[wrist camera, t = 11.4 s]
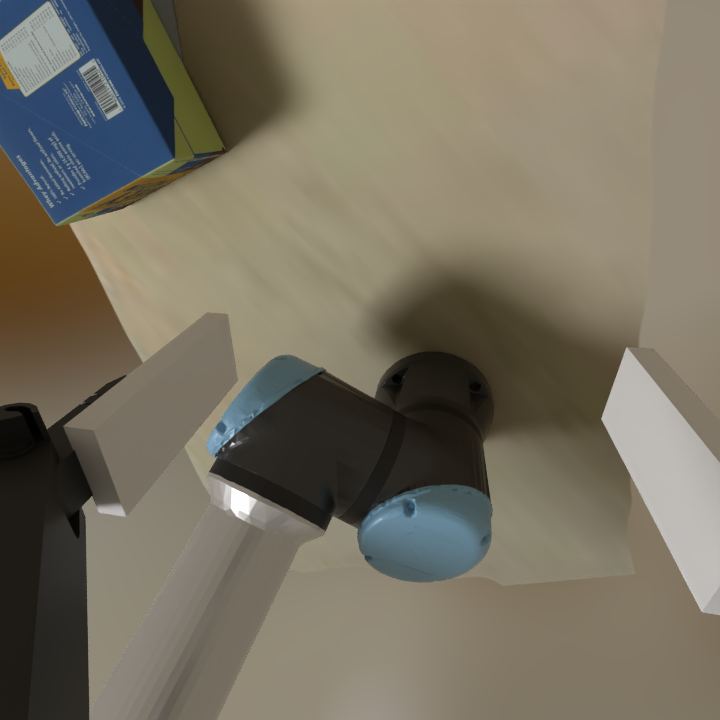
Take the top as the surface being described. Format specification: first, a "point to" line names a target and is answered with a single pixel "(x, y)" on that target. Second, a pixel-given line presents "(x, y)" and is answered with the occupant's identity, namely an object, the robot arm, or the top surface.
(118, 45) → the protein box
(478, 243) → the top surface
